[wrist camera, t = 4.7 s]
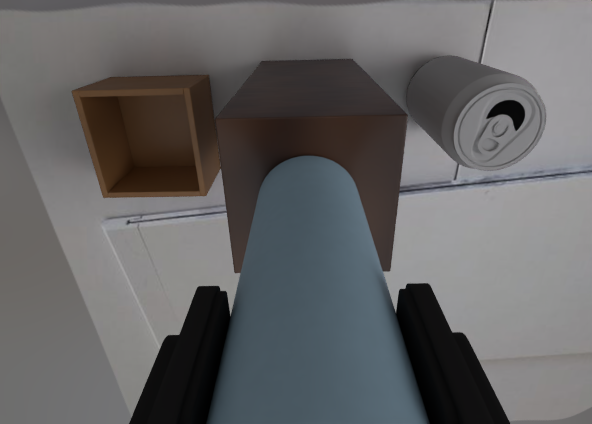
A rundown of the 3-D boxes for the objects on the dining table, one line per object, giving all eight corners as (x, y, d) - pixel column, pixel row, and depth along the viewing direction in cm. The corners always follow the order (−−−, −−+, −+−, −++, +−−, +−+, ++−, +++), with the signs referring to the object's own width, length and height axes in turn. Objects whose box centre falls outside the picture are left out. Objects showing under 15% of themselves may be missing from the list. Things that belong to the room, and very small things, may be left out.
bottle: (247, 229, 18) (153, 609, 7) (275, 141, 16) (209, 474, 5) (336, 254, 19) (392, 642, 7) (374, 173, 17) (537, 537, 5)
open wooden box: (132, 169, 38) (103, 198, 33) (110, 77, 34) (71, 90, 28) (220, 168, 38) (206, 196, 32) (208, 74, 34) (189, 87, 28)
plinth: (267, 148, 37) (234, 273, 19) (261, 60, 33) (214, 118, 16) (348, 146, 37) (390, 271, 19) (352, 58, 33) (408, 114, 15)
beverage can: (490, 70, 33) (577, 99, 23) (451, 136, 36) (512, 189, 26) (426, 42, 32) (486, 59, 22) (391, 113, 35) (429, 157, 25)
